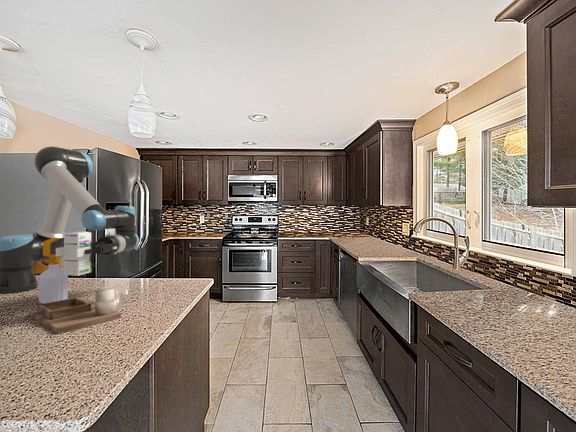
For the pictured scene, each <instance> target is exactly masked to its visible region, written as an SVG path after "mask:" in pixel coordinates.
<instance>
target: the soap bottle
mask: <svg viewBox="0 0 576 432" xmlns="http://www.w3.org/2000/svg"><path fill="white" fill-rule="evenodd" d="M60 239H61V238H60V237H54V238H51V239H48V240H46V241H44V242H43V255H44V256H47V257H50V259H51V262H50V263H49V268H48V269H47V270H46V271H44V272H43V273H41V274H39V277H38V303H39V304H44V303H50V302H55V301H60V300H66V299H69V296H68V295H69V294H68V293H69V289H68V288H69V275H65V274H64V269H62V268H61V269H60V268H59V262H57V259H58V257H59V256H56V254H53V255H50V245H51V243H52V242H54V241H57V240H60Z"/></svg>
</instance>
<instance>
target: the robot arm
mask: <svg viewBox="0 0 576 432" xmlns="http://www.w3.org/2000/svg"><path fill="white" fill-rule="evenodd" d="M34 166H35V169H36V171H37V172H38V174H40V175H41V176H42V178H44V179H46V180H49V181H50V182H51V184H53V189H52V192H51V195H50V197H49V202H48V205H47V209H46V212H45V216H44V220H43V223H42V227H40V228H38V229H37V230H36V232H35V233H36V235H35V237H33V234H31V233H19V234H10V235H5V236H2V237H1V238H0V294H11V293H13V294H14V293H21V292H26V291H30V290H34V289H37V288H39V281H38V279H37V277H36V274H34V272H33V262H39V261H45V260H51V259H50V257H47V256H44V255H43V242H44V241H46V240H48V239H51V238H54V237H60V238H61V239H60V240H57V241H54V242H52V243H51V245H50V255H53V254H56V256H59V257H58V258H61V259H62V258H64V233H66V232H65V229H66V225H67V223H68V220H69V219H68V218H69V217H70V216H69V215H70V213H71V210H72V206H73V207H74V209H76V210H77V211H78V213H79V214H80V215H81V219H80V220H81V224H82V226H83V227H84V228H85V229H86V230H89V231H100V230H101V231H102V230H110V229H111V230H112V229H114V231H115V234H112V235H110V234H109V235H104V236H101V237H100V238H98V239H97V240H95V241H93V242H92V241H91V247H85V248H79V249H75V257H82V256H87V255H91V256H92V255H97V254H98V255H102V256H111V255H115V256H116V255H117V254H118V253H122V252H126V251H127V252H128V251H132V250H134V249H136V248H137V247H138V246H139V244H140V237H139V236H138V234H137V233H136V229H135V228H136V209H135V206H133V205H116V206H115V209H114V210H106V209H105V208H104V207H103V206H102V205H101V204H100V203H99V202H98V201H97V200H96V199H95V198H94V197H93V196H92V194H91V193H90V192H89V191H88V190H87V188H85V187H84V186H83V185H82V184H83V182H84V179H85V178H88V177H89V176H91V175H92V173H93V171H94V164H93V160H92V159H91V157H90V155H88V154H87V153H85V152H82V151H78V150H74V149H69V148H64V147H63V148H61V147H58V146H46V147H43V148H41V149H40V150H39V151H37V153H36V154H35V156H34Z"/></svg>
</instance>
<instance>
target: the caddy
mask: <svg viewBox="0 0 576 432" xmlns="http://www.w3.org/2000/svg"><path fill="white" fill-rule="evenodd" d="M115 291H116V288H115V287H111V286H106V287H99V288H96V289H95V299H94V300H95V301H93V300H90V299H88V298H87V299H81V298H79V297H71V298H68V299H66V300H60V301H55V302H50V303H44V304H42V303H39V304H37V309H31V310H28V315H29V316H30V317H31V318H33V319H34V320H36V321H37V322H39V323H40V324H42V325H44V326H45V327H47V328H48V329H49V330H51V331H53V332H54V333H56V334H57V335H60V334H63V333H67V332H72V331H75V330H79V329H82V328H86V327H90V326H94V325H98V324H102V323H105V322H110V321H114V320H116V319H117V320H118V319H121V314H122V313H120V312H118V311H116V310H115V301H116V299H115V296H116V295H115Z"/></svg>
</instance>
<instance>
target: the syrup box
mask: <svg viewBox="0 0 576 432" xmlns="http://www.w3.org/2000/svg"><path fill="white" fill-rule="evenodd" d="M91 242H92V232H91V231H72V232H65V233H64V256H63V258H64V260H63V267H64V268H63V270H64V274H65V275H68V276H75V277H77V276H78V277H80V276H81V275H86V274H90V273H92V254H91V255H87V256H82V257H75V249H79V248H85V247H91Z"/></svg>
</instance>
